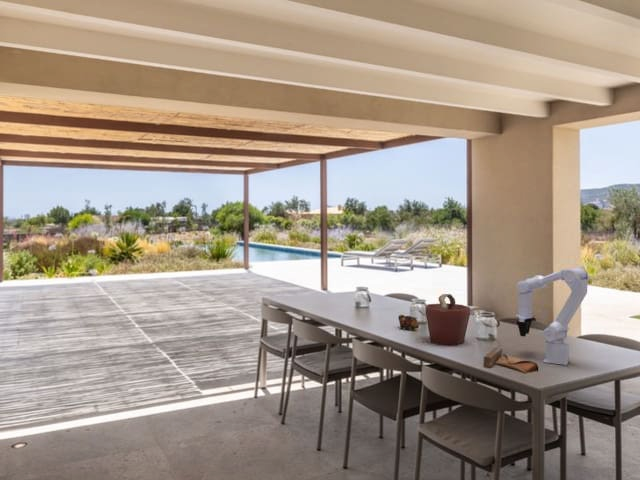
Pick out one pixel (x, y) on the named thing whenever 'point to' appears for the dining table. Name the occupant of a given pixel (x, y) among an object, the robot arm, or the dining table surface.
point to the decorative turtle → (407, 322)
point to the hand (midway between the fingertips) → (524, 334)
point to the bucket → (447, 321)
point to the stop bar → (492, 357)
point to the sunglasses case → (517, 364)
